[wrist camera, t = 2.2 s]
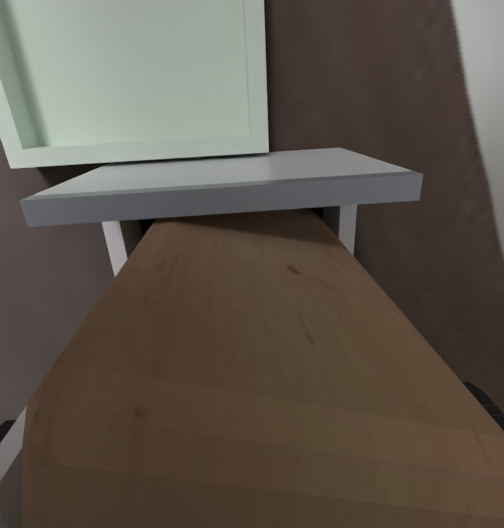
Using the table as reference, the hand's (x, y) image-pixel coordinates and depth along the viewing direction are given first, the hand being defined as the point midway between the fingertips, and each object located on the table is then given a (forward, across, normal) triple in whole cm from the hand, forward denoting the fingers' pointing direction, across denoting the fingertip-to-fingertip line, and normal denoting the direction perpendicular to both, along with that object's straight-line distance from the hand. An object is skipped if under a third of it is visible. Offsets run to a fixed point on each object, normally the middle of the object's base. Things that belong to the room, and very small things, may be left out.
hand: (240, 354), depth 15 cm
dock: (+11, 0, 0) cm, 11 cm away
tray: (+11, -5, +15) cm, 20 cm away
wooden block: (+11, 0, 0) cm, 11 cm away
